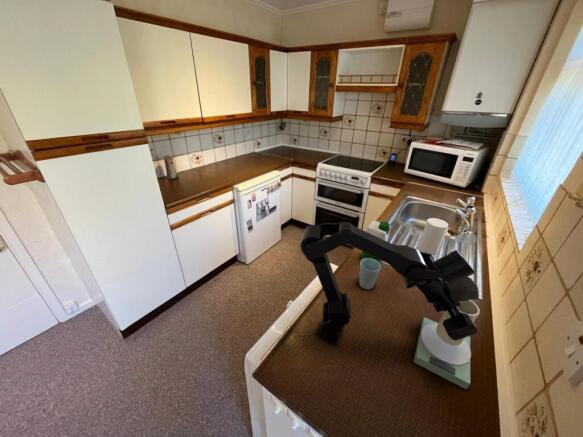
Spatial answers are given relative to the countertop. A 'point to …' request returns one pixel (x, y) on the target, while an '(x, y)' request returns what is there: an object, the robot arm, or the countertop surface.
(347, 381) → the countertop surface
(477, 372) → the countertop surface
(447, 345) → the kitchen scale
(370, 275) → the cup
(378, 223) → the milk carton
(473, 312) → the beaker
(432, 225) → the cylindrical container
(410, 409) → the countertop surface
